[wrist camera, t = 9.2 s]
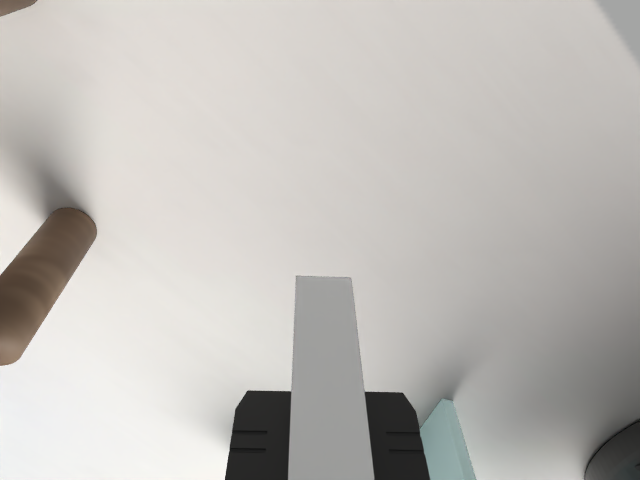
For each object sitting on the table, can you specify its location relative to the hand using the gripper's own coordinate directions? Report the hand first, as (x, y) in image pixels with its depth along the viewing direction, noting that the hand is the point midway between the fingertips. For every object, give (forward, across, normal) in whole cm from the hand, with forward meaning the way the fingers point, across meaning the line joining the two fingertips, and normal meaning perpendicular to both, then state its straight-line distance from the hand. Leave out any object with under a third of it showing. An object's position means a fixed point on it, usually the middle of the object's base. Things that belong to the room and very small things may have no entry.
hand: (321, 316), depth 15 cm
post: (+14, +13, +6) cm, 20 cm away
